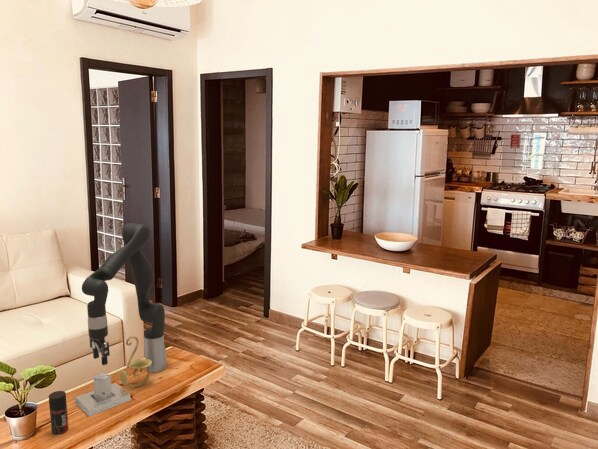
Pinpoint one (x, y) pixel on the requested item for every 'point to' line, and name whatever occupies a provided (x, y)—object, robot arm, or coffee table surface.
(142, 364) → the wall sconce
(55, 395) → the deodorant
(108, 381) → the skincare box
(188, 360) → the coffee table surface
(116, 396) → the grey slotted slab
